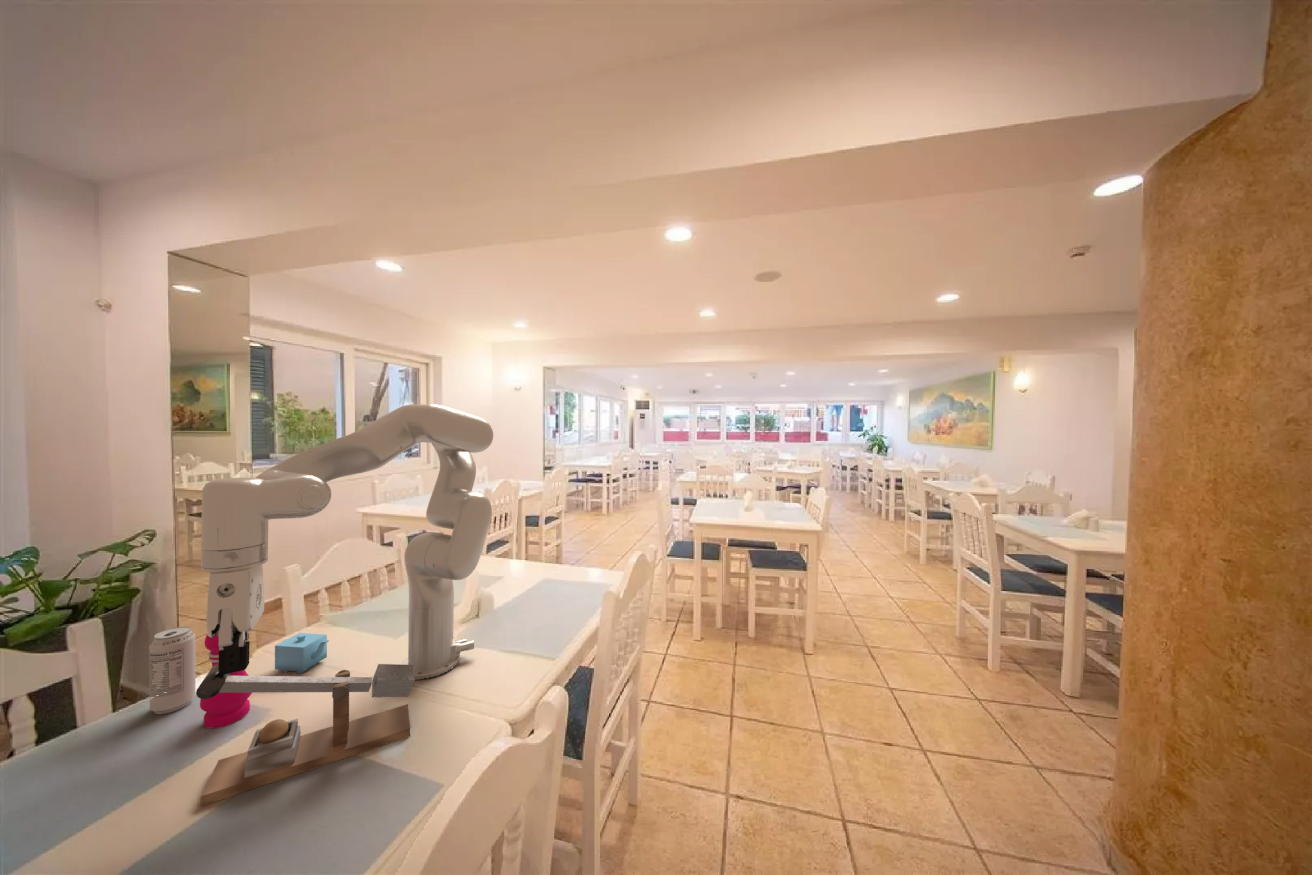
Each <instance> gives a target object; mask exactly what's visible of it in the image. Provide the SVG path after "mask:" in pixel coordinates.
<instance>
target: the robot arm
mask: <svg viewBox="0 0 1312 875" xmlns="http://www.w3.org/2000/svg"><path fill="white" fill-rule="evenodd" d="M493 440H494V431H493V428H492V426H491V424H490V423H489V422H488V421H487V420H485V419H484V418H482V417H479V416H477V415H474V414H470V413H467V412H463V411H460V410H458V409H455V408H451V407H448V406H445V405H440V404H434V403H433V404H431V403H430V404H428V403H427V404H426V403H422V404H417V403H416V404H415V403H414V404H413V403H412V404H406V405H402V406H400V407H398V408H396V409H394V410H392V411H390V412H389V413H386V414H384V415H383V416H381V417H379V418H377V419H375V420H374V421H372V422H370V423H368V424H367V425H365V426H363V427H361V428H359V429H357V430H355V431H353V432H351V433H350V434H347V435H343V436H341V437H339V438H335V439H333V440H329V441H328V442H325V443H322V444H320V445H317V446H314V447H311V448H309V449H306V450H304V451H301V452H299V453H297V454H293V455H292V456H290V457H288V458H287V459H285V460H283V461H281V462H279V463H277V464H275V465H274V466H272V467H270V468H268V469H266V470H265V471H263V472H261V473H259V475H257V476H255V477H229V478H219V479H218V478H217V479H214V480H210V481H209V482H207V483H205V484H204V486H203V488H202V490H201V531H200V532H201V535H200V536H201V538H200V541H201V542H200V570H201V572H202V573H208V574H209V576H208V586H207V600H206V601H207V602H206V633H207V634H206V636H207V635H208V636H209V637H211V638H214V637H215V636H216V635H217V634H218V635H219V675H224V674H229V673H234V672H238V671H243V670H245V671H246V669H247V668H248V666H249V664H250V640H249V638H250V631H252V630H253V629H254V628H255V626H256V625H257V623H258V622H259V620H260V618H261V617H262V615H263V614H264V611H265V590H264V587H265V586H264V584H265V583H264V569H263V564H266V563H267V562H268V558H269V521H271V520H277V519H278V520H279V519H281V520H283V519H303V518H308V517H313V516H314V515H316V514H318V513H320V512H321V511H323V510H324V509H325V508H327V506H329V504H330V502H331V499H332V490H331V488H330V486H329V484H328V483H327V482H331V481H332V480H336V479H339V478H342V477H347V476H352V475H357V474H359V475H360V474H363V473H367V472H370V471H373V470H377V469H380V468H383V466H385V465H386V464H388V463H389V462H391V461H393V460H394V459H395V458H397V457H398V456H400V455H401V454H403V453H405V452H406V451H407V450H410V449H411V448H412V447H414V446H416V445H417V444H419V443H430V444H431V445H432V446H433V448H434V449H435V451H436V454H437V457H438V460H439V471H438V474H437V478H436V481H435V484H434V487H433V490H432V493H431V496H430V499H429V502H428V505H427V508H426V511H425V512H426V514H425V517H426V519H427V522H429V523H430V525H432V526H434V527H437V528H440V529H447V530H452V533H451V534H445V533H439V532H423V533H420V534H418V535H416V536H415V537H413V538H412V539H411V540H410V541H409V543H408V544H407V546H406V548H405V551H404V556H403V557H404V558H403V560H404V567H405V571H406V575H407V576H406V577H407V582H408V634H407V635H408V638H407V639H408V642H407V643H408V644H407V645H408V646H407V648H408V649H407V650H408V651H407V652H408V653H407V655H408V656H407V657H406V658H405V659H404V660H403V661H402V662H401V664H400V665H413V672H414V680H425V679H424V678H426V679H430V678H429V677H431V678H434V677H433V676H435V677H438V676H440V674H441V675H443V674H445V673H444V672H446V671H447V672H449V671H450V670H449V669H451V668H452V667H454V666H455V665H456V664H457V663H458V664H459V662H460V660H461V652H467V651H471V650H474V649H475V642H474V640H471V641H470V640H469V641H468V639H467V638H464V639H461V640H455V637H454V605H455V604H454V601H455V587H454V581H461V580H465V579H466V578H469V576H470V575H472V574H473V572H474V571H475V569H476V568H477V566H478V564H479V561H480V559H481V555H482V553H483V549H484V545H485V542H486V540H487V535H488V532H489V530H490V529H489V528H490V525H491V521H492V516H493V509H492V503H491V501H490V498H488V497H487V496H486V495H485V494H483V493H481V492H478V491H473V488H474V483H475V480H476V477H477V476H476V474H477V466H476V462H475V460H474V457H473V455H472V453H480V452H484V451H486V450H487V449H488V448H489V447H490V446H491V445H492V443H493ZM459 659H460V660H459ZM458 661H459V662H458ZM458 664H457V665H458ZM457 665H456V666H457ZM456 666H455V667H456ZM455 667H454V668H455ZM452 669H453V668H452ZM452 669H451V670H452ZM448 670H449V671H448ZM447 672H446V673H447ZM442 673H443V674H442Z"/></svg>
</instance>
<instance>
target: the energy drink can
mask: <svg viewBox="0 0 1312 875" xmlns="http://www.w3.org/2000/svg"><path fill="white" fill-rule="evenodd" d="M148 646H149V647H148V649H149V655H148V656H149V658H148V659H149V710H150V711H152V712H154V714H156V715H163V714H164V715H165V714H169V713H172V712H176V711H179V710H181V709H183V708H184V707H187V706H188V705H189V704H190V703H191V702H192V700H193V699H194V698H195V696H196V634H195V633H194V632H193V631H192V628H191V627H190V626H179V627H171V628H169V629H166V630H162V631H160V632H158V633H156V634H154V636H153V640H152V641H151V643H150V644H149V645H148ZM164 692H167V693H164ZM156 695H159V696H156ZM151 697H154V698H152V699H151V700H150V698H151Z"/></svg>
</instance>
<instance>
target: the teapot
mask: <svg viewBox="0 0 1312 875" xmlns="http://www.w3.org/2000/svg"><path fill="white" fill-rule="evenodd" d="M328 642H330V640H329V639H328V635H327V634H324V633H323V634H322V633H311V632H310V633H309V632H299V633H296V634H294V635H292V636H291V637H289V638H287V639H284V640H283V641H282V642H280V643H277V644H276V645H274V670H278V671H279V670H281V671H282V673H288V672H291V671H292V672H296V674H300V675H301V674H303V673H305V672H306V671H307V670H308V669H310V668H311V667H313V666H315V665H317V664H316V663H318V662H319V663H320V662H321V661H323V660H324V659H326V658H327V657H328V644H327V643H328ZM319 663H318V664H319Z"/></svg>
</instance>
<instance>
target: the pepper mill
mask: <svg viewBox="0 0 1312 875" xmlns="http://www.w3.org/2000/svg"><path fill="white" fill-rule="evenodd" d="M204 638H205V639H204V647H205V648H206V649H207V650H208V651H209V652H208V654H207V655H208V662H210V663H211V668H212V667H213V666H215V665H216V664H218V663H219V635H218V634H217V635H216V636H215V637H214V638H211V637H209V636H208V635H207V634H206V635H205V637H204ZM229 676H250V675H249V674H248V673H247V671H246V669H245V670H243V671H238V672H234V673H230V674H229ZM252 694H253V692H246V693H218V694H217V695H215V696H214V697H212V698H209V699H200V698H199V699H200V701H199V707H200V710H202V711H204V712H205V713H204V714H203V726H204V727H205V728H207V729H218V728H222V727H223V728H224V727H225V726H228V725H231V724H233V723H236V722H238V721H240V720H241V719H243V718H244V717H246V716H247V714H248V713H250V710H251V702H250V699H249V698H250V697H251V695H252Z"/></svg>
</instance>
